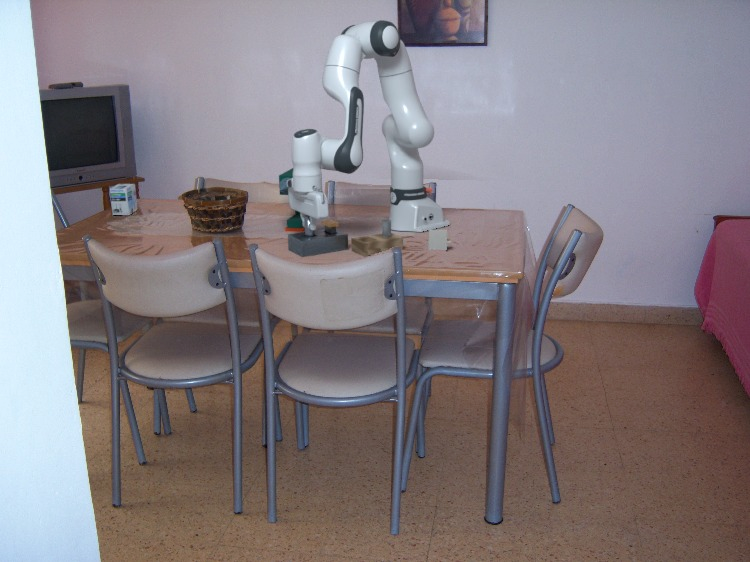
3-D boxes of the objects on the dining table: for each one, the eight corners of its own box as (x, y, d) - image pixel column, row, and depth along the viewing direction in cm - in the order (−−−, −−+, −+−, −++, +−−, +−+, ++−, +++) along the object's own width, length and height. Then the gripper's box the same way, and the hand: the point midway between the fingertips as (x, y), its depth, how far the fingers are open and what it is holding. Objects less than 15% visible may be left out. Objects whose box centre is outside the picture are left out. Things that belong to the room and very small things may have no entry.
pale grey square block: (427, 250, 246) (427, 227, 244) (449, 250, 246) (450, 227, 244) (428, 253, 243) (428, 229, 241) (450, 253, 243) (451, 229, 241)
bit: (312, 248, 247) (310, 214, 244) (316, 250, 245) (314, 216, 241) (304, 250, 246) (302, 215, 242) (308, 252, 243) (306, 217, 240)
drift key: (331, 244, 252) (330, 219, 249) (339, 247, 247) (338, 222, 245) (322, 245, 250) (321, 221, 248) (330, 249, 246) (329, 224, 243)
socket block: (333, 242, 255) (332, 227, 253) (348, 249, 246) (348, 234, 245) (288, 249, 247) (287, 234, 245) (302, 257, 239) (301, 241, 237)
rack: (389, 244, 252) (389, 217, 249) (403, 249, 245) (403, 221, 242) (351, 250, 245) (350, 222, 242) (364, 256, 238) (363, 227, 236)
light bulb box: (129, 216, 297) (126, 188, 294) (112, 216, 297) (108, 188, 294) (138, 210, 307) (135, 183, 304) (121, 210, 307) (118, 183, 304)
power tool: (293, 241, 257) (290, 181, 251) (272, 240, 258) (269, 180, 252) (319, 220, 287) (317, 165, 281) (300, 219, 288) (298, 165, 282)
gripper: (332, 188, 232) (334, 233, 236) (302, 178, 249) (304, 220, 253) (313, 190, 229) (315, 236, 233) (284, 180, 246) (286, 223, 250)
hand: (309, 228), depth 243 cm, fingers closed on bit, 3 cm apart
